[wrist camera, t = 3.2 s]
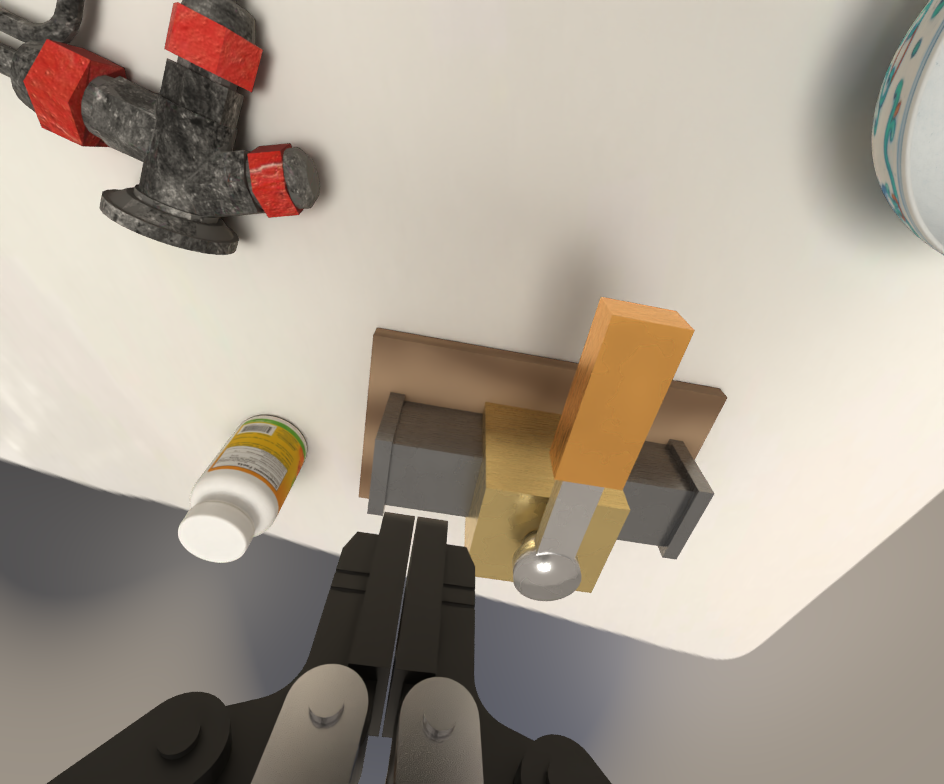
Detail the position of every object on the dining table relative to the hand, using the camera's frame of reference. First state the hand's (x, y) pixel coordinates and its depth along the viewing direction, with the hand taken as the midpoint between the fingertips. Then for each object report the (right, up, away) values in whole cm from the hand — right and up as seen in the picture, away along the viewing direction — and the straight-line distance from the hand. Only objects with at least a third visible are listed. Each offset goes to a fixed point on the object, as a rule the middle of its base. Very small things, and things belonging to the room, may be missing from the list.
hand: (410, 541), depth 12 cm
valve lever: (+7, 0, +12) cm, 14 cm away
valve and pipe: (+6, 0, +25) cm, 26 cm away
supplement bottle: (-14, 0, +26) cm, 29 cm away
